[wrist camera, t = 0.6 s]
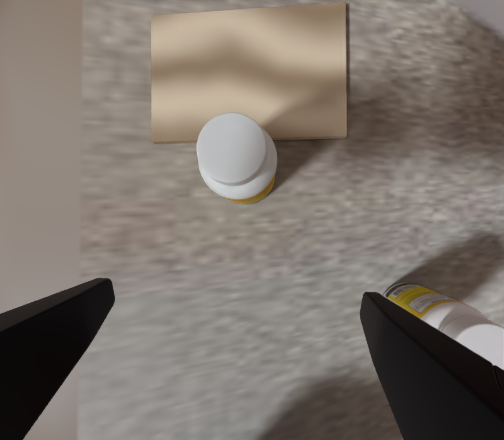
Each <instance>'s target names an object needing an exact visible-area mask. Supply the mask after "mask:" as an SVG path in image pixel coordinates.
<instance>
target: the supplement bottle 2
mask: <svg viewBox="0 0 504 440" xmlns="http://www.w3.org/2000/svg"><path fill="white" fill-rule="evenodd" d="M383 296H384V297H386V298H387V299H389V300H390V301H392V302H394V303H395V304H397V305H399V306H400V307H402V308H403V309H405V310H407V311H408V312H410V313H412V314H413V315H415V316H417V317H418V318H420V319H421V320H423V321H425V322H426V323H428V324H430V325H431V326H433V327H434V328H436V329H438V330H439V331H441V332H443V333H444V334H446V335H447V336H449V337H451V338H452V339H454V340H456V341H457V342H459V343H460V344H462V345H464V346H465V347H467V348H469V349H470V350H472V351H473V352H475V353H477V354H478V355H480V356H482V357H483V358H485V359H486V360H488V361H490V362H491V363H492V364H493V365H496V366H498V367H500V368H501V369H503V370H504V328H503V327H502V326H500V325H497V324H495V323H493V322H492V321H490V320H488V319H487V318H486V317H485V316H484V315H483V314H482V313H481V312H479V311H478V310H476V309H475V308H473V307H471V306H469V305H467V304H464V303H462V302H459V301H457V300H455V299H452V298H450V297H447V296H445V295H442V294H440V293H437V292H435V291H432V290H430V289H428V288H425V287H423V286H420V285H418V284H414V283H407V282H406V283H399V284H396V285H394V286H392V287H390V288H389V289H388V290H387V291H386V292H385V293H384V295H383Z"/></svg>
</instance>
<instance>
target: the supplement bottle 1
mask: <svg viewBox="0 0 504 440" xmlns="http://www.w3.org/2000/svg"><path fill="white" fill-rule="evenodd" d="M197 156H198V164H199V169H200V173H201V175H202V177H203V179H204V181H205V182H206V184H207V185H208V186H209V187H210V188H211V189H212V190H213V191H214V192H216V193H217V194H219V195H221V196H223V197H224V198H227V199H229V200H231V201H233V202H235V203H239V204H244V205H249V204H254V203H257V202H259V201H261V200H263V199H264V198H265V197H266V196H267V195H268V194H269V193H270V191H271V189H272V187H273V185H274V181H275V175H276V169H277V152H276V148H275V145H274V142H273V140H272V139H271V137H270V136H269V134H268V133H267V132H266V131H265V130H264V129H263V128H262V127H260V125H259V124H258V123H257V122H256V121H255V120H253V119H252V118H251V117H249V116H247V115H245V114H242V113H237V112H228V113H223V114H220V115H218V116H216V117H214V118H212V119H211V120H210V121H209V122H207V124H206V125H205V126H204V127H203V129H202V130H201V132H200V134H199V137H198V140H197Z"/></svg>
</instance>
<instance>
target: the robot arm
mask: <svg viewBox="0 0 504 440" xmlns="http://www.w3.org/2000/svg"><path fill="white" fill-rule="evenodd" d="M114 302H115V295H114V290H113V285H112V281H111V280H110V279H108V278H96V279H94V280H91V281H88V282H86V283H83V284H80V285H77V286H75V287H72V288H70V289H67V290H64V291H61V292H59V293H56V294H53V295H50V296H48V297H45V298H42V299H40V300H37V301H34V302H31V303H28V304H26V305H23V306H20V307H18V308H15V309H12V310H9V311H7V312H4V313H1V314H0V440H23V439H24V437H25V435H26V434H27V433H28V431H29V430H30V429H31V427H32V426H33V425H34V423H35V421H36V420H37V419H38V417H39V416H40V415H41V413H42V412H43V410H44V409H45V407H46V406H47V405H48V403H49V402H50V401H51V399H52V398H53V396H54V395H55V393H56V392H57V391H58V389H59V388H60V386H61V385H62V384H63V382H64V381H65V379H66V378H67V376H68V375H69V374H70V372H71V371H72V369H73V368H74V366H75V365H76V364H77V362H78V361H79V360H80V358H81V357H82V355H83V354H84V352H85V351H86V350H87V348H88V347H89V345H90V344H91V342H92V341H93V339H94V337H95V336H96V334H97V332H98V330H99V329H100V327H101V325H102V324H103V322H104V320H105V318H106V317H107V315H108V313H109V312H110V310H111V308H112V306H113V305H114ZM360 319H361V323H362V326H363V330H364V333H365V337H366V340H367V344H368V347H369V351H370V354H371V358H372V361H373V364H374V367H375V369H376V372H377V375H378V377H379V379H380V382H381V384H382V387H383V389H384V392H385V394H386V397H387V399H388V402H389V404H390V407H391V409H392V412H393V414H394V417H395V419H396V422H397V424H398V427H399V429H400V432H401V434H402V437H403V439H404V440H504V370H503V369H501V368H500V367H498V366H496V365H493V364H492V363H491V362H490V361H488V360H486V359H485V358H483V357H482V356H480V355H478V354H477V353H475V352H473V351H472V350H470V349H469V348H467V347H465V346H464V345H462V344H460V343H459V342H457V341H456V340H454V339H452V338H451V337H449V336H447V335H446V334H444V333H443V332H441V331H439V330H438V329H436V328H434V327H433V326H431V325H430V324H428V323H426V322H425V321H423V320H421V319H420V318H418V317H417V316H415V315H413V314H412V313H410V312H408V311H407V310H405V309H403V308H402V307H400V306H399V305H397V304H395V303H394V302H392V301H390V300H389V299H387V298H386V297H384V296H382V295H381V294H379V293H377V292H365V293H364V294H363V298H362V304H361V309H360Z"/></svg>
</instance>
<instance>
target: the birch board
mask: <svg viewBox="0 0 504 440" xmlns="http://www.w3.org/2000/svg"><path fill="white" fill-rule="evenodd" d="M151 78H152V142H153V143H154V144H164V143H197V140H198V137H199V134H200V132H201V130H202V129H203V127H204V126H205V125H206V124H207V122H209V121H210V120H211V119H212V118H214V117H216V116H218V115H220V114H223V113H228V112H237V113H242V114H245V115H247V116H249V117H251V118H252V119H253V120H255V121H256V122H257V123H258V124H259V125H260V127H262V128H263V129H264V130H265V131H266V132H267V133H268V134H269V136H270V137H271V139H272V140H299V139H333V138H345V137H346V136H347V102H346V2H341V3H327V4H313V5H298V6H284V7H270V8H255V9H241V10H227V11H213V12H198V13H184V14H170V15H156V16H151Z"/></svg>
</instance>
